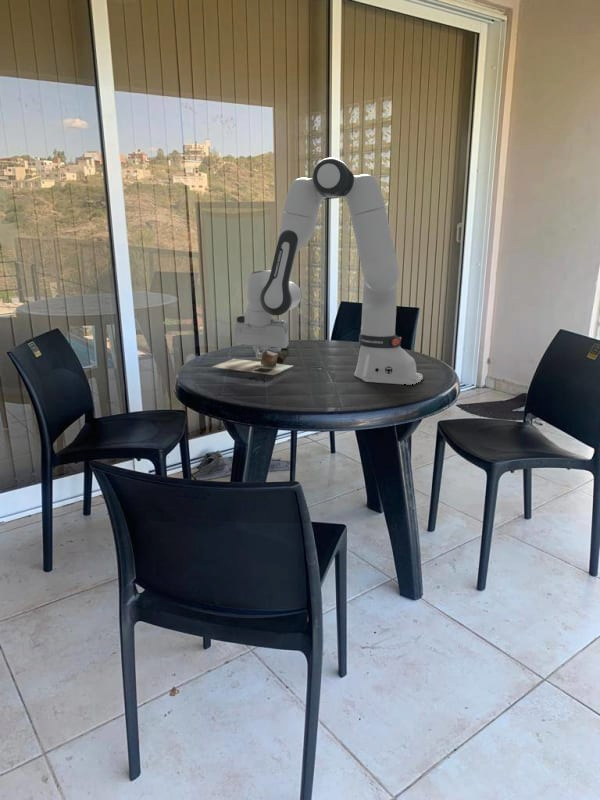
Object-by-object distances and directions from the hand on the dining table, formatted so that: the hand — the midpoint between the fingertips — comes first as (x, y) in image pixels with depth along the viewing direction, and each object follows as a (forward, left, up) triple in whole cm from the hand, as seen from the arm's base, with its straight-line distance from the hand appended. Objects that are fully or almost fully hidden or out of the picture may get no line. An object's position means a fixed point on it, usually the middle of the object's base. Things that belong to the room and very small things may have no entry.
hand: (260, 358), depth 200 cm
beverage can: (+10, -28, -4) cm, 29 cm away
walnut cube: (-3, 0, -2) cm, 4 cm away
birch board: (+1, +4, -4) cm, 6 cm away
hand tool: (-1, -14, -4) cm, 15 cm away
